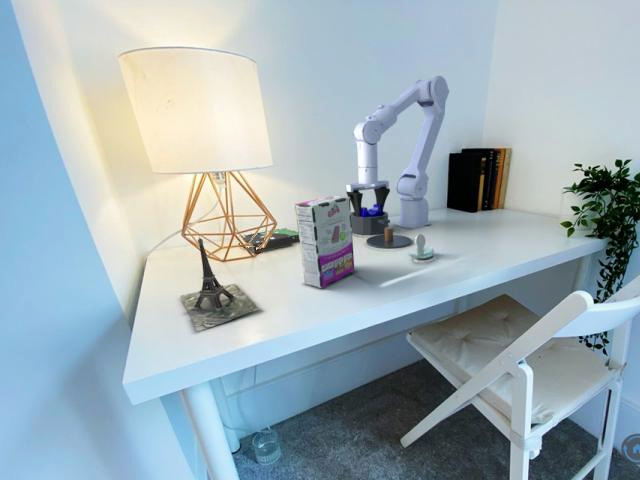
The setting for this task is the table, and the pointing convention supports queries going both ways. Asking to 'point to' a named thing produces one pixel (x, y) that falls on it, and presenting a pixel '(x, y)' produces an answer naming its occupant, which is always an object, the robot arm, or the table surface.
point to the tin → (369, 224)
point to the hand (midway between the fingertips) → (369, 213)
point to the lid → (388, 240)
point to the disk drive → (272, 239)
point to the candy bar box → (325, 239)
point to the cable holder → (371, 211)
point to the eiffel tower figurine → (215, 299)
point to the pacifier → (422, 250)
